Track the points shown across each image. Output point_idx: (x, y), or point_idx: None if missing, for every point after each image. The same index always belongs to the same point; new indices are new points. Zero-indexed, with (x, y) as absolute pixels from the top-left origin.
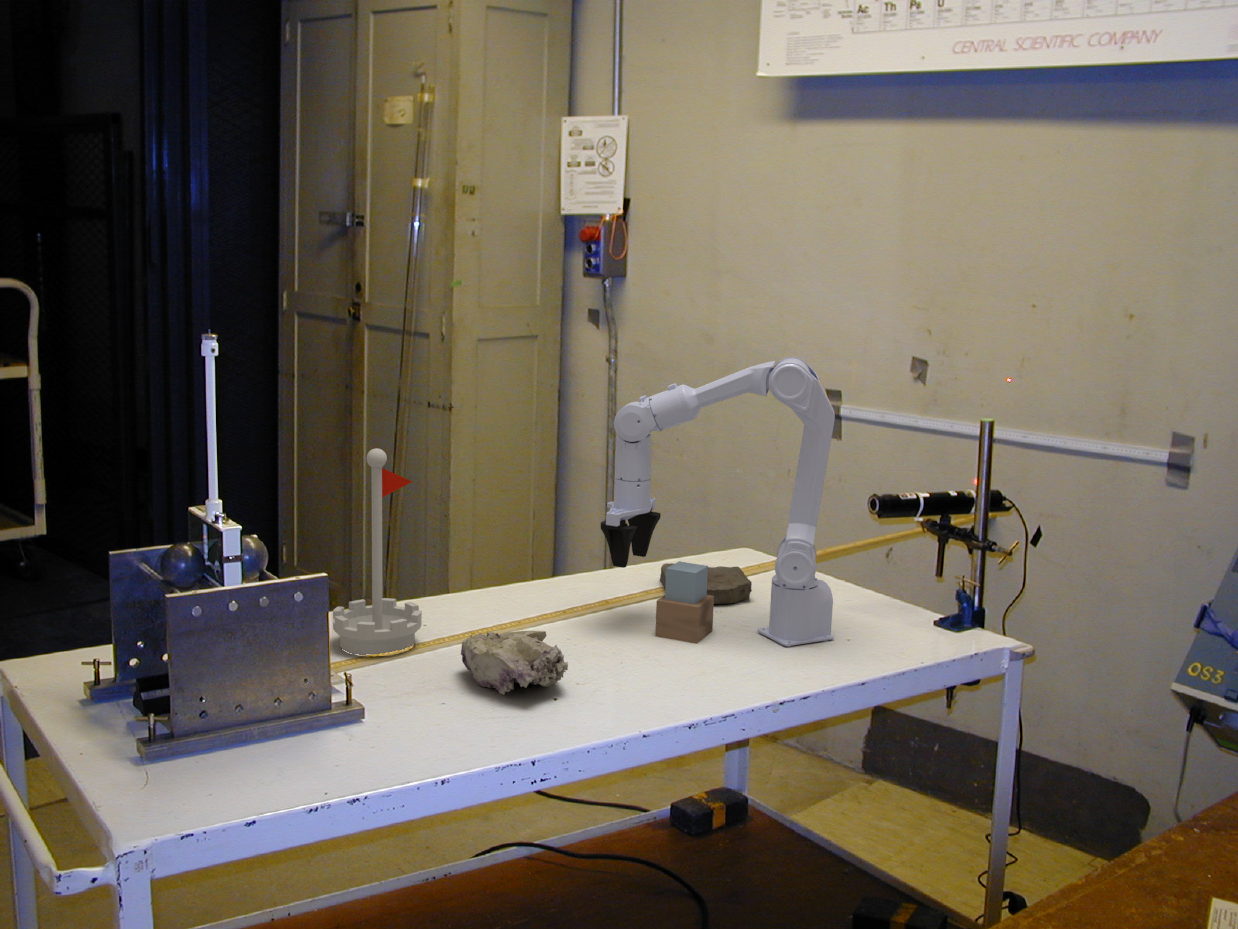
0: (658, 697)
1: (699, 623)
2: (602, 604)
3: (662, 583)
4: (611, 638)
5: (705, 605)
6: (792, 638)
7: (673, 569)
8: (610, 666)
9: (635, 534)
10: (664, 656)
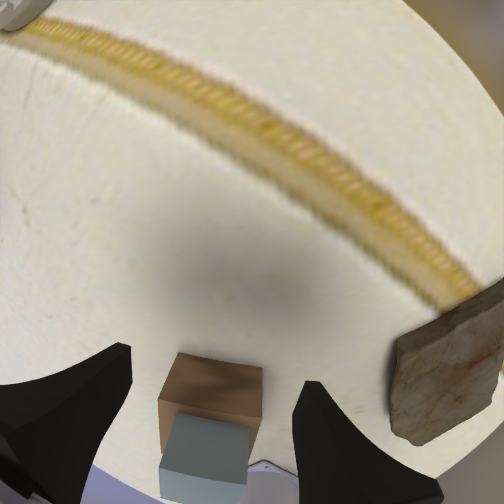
0: (10, 362)
1: None
2: (358, 199)
3: (492, 287)
4: (130, 280)
5: None
6: None
7: (159, 476)
8: (34, 304)
9: (321, 451)
10: None
